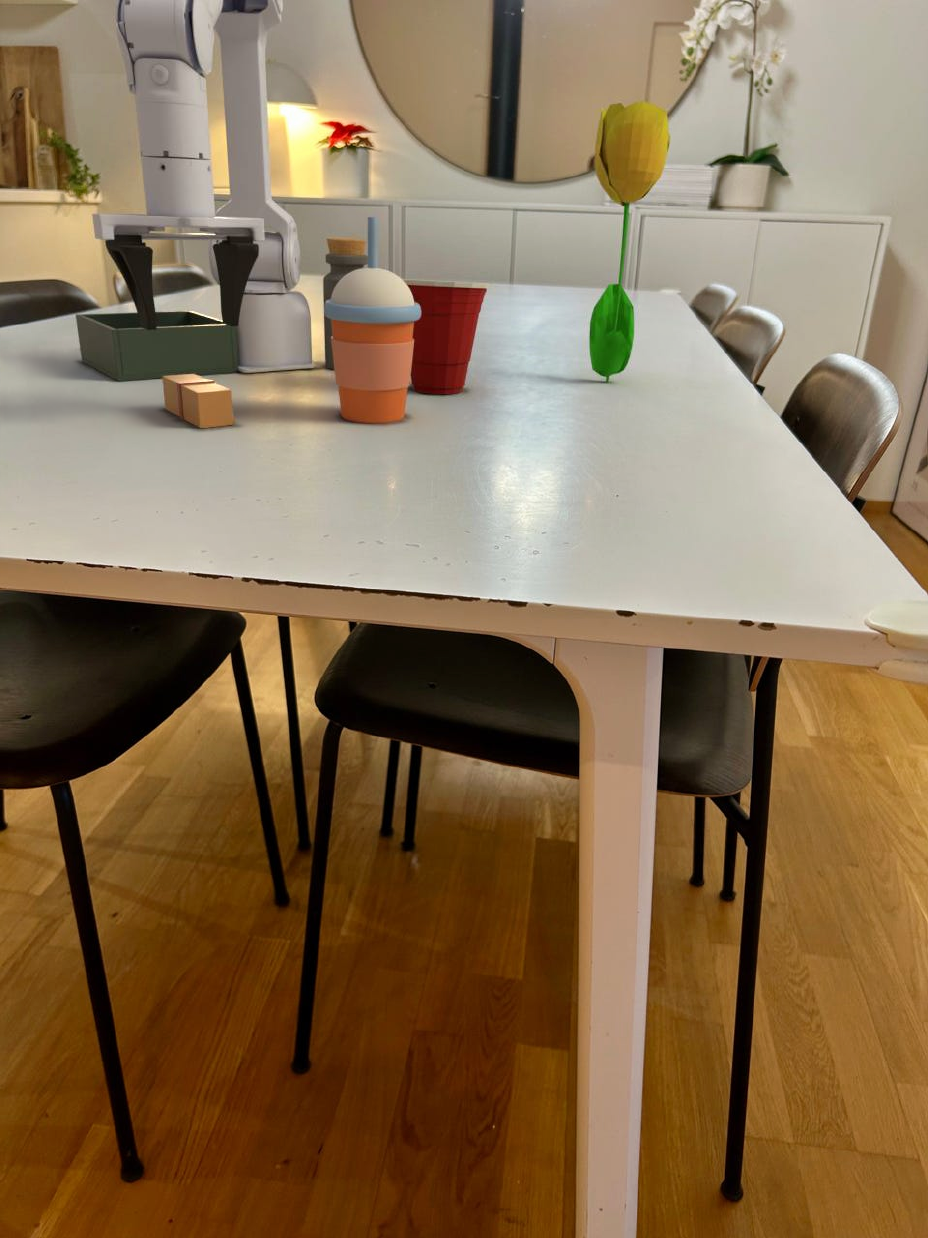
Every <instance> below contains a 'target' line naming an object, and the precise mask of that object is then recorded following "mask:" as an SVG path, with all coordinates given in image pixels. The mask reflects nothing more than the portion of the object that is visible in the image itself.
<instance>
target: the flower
mask: <svg viewBox="0 0 928 1238" xmlns="http://www.w3.org/2000/svg"><path fill="white" fill-rule="evenodd" d="M598 122H599V123H598V127H597V131H596V138H595V146H594V169H595V174H596V178H597V179H598V181H599V184H600V185H601V187H602V189H603V191H604V192H605V193H606V195H607V196H608V197H609V198H610V200H611V201H613V202H614V203H616V204H618V205H620V206H621V207H623V218H622V219H623V221H622V235H621V249H620V251H621V252H620V263H619V273H618V274H619V275H618V283H614V284H613V283H609V284H608V285H607V286H606V288H605V290H604V291H603V293H602V294H601V296H600V297H599V298H598V300H597V302H596V304H595V305H594V307H593V310H592V312H591V317H590V321H589V335H588V337H589V338H588V339H589V341H588V344H589V357H590V363H591V370H592V371H593V372H595V373H596V374H597V375H599V376H600V377H605V383H606V384H607V383H608V384H609V382H610V377H611V376H613V375H617V374H620V373H622V372H623V371H625V369H626V367H627V366H628V363H629V361H630V358H631V355H632V350H633V346H634V339H635V311H634V305H633V304H632V301H631V300H630V298H629V296H628V294H627V292H626V290H625V289H624V288H623V286H622V281H623V273H624V264H625V263H624V262H625V254H626V245H627V237H628V235H627V234H628V225H629V222H628V221H629V214H630V213H629V211H630V203H631V204H632V203H636V202H638V201H640V200H641V199H644V198H645V197H646V196H647V195H648V193H649V192H650V191H651V190H652V188H653V187H654V186H655V185H656V184H657V182H658V181H659V179H660V178H661V177H662V175H663V171H664V169H665V166H666V161H667V157H668V151H669V148H670V143H671V135H670V133H669V118H668V113H667V110H665V109H663V108H662V107H660V106H658V105H656V104H653V103H651V102H647V101H645V100H642V101H641V100H640V101H636V102H633V103H631V104H629V105H627V106H624V105H623V104H622V102H618V103H611V104H609V106H608V108H607V109H605V108H604V107H602V108H601V112H600V116H599V121H598Z"/></svg>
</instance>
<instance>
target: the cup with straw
mask: <svg viewBox="0 0 928 1238" xmlns="http://www.w3.org/2000/svg"><path fill="white" fill-rule="evenodd" d="M367 256H368V264H367V267H363V268H361V269H357V270H354V271H352V272H350V273H348V274H347V275H345V276H344V277H343V278H342V279H341V280H340V281H339V282H338V284H337V285H336V287H335V288H334V290H333V293H332V297H331V299H330V300H327V301H326V302H325V304H324V303H323V315H324V314H325V316H326V317H328V318H330V319H331V323H332V333H333V336H332V337H331V342H332V351H333V360H334V369H333V370H334V377H335V384H336V385H337V387H338V397H339V407H340V413H341V417H342V418H343V419H345V420H346V421H350V422H355V423H361V424H391V423H397V422H399V421H402V420H403V419H404V418H405V413H406V404H407V395H408V394H407V393H408V388H409V386H410V383H411V366H412V357H413V347H414V339H413V338H412V337H413V327H414V321H417V320H419V319H420V317H421V307H420V305H419V304H418V303H416V302H414V299H413V296H412V293H411V291H410V289H409V287H408V286H407V285H406V283H405V282H404V281H403V280H404V279H403V278H401V277H400V276H399V275H397V274H396V273H394V272H392V271H390V270H388V269H384V268H380V267H378V217H377V216H367Z"/></svg>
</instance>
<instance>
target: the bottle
mask: <svg viewBox="0 0 928 1238" xmlns="http://www.w3.org/2000/svg"><path fill="white" fill-rule="evenodd" d="M326 242H327V243H326V244H327V248H328V252H329V253H326V254H325V256H324V257H325V259H324V260H325V263H326V264H329V266H330V270H329V271H330V272H328V273H327V274H325V275H324V277H323V278H322V288H323V290H322V293H323V294H322V295H323V297H322V298H323V300H322V301H323V305H324V304H325V302H326V301H327V300H330V299H331V297H332V293H333V290H334V288H335V287H336V285H337V284H338V282H339V281H340V280H341V279H342V278H343V277H344V276H345V275H347V274H348V273H350V272H352V271H354V270H357V269H361V268H365V267H364V266H366V265H368V254H367V255H366V254H365V251H366V250H365V249H366V244H367V239H365V238H357V237H327V238H326ZM323 334H324V336H323V337H324V338H323V339H324V362H325V363H324V364H325V368H327V369H329V370H334V360H333V351H332V342H331V337H332V336H333V333H332V323H331V319H330V318H328V317H326V316H325V314H324V313H323Z"/></svg>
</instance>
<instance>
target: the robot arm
mask: <svg viewBox="0 0 928 1238" xmlns="http://www.w3.org/2000/svg"><path fill="white" fill-rule="evenodd" d="M283 1H284V0H117V2H116V7H115V28H116V29H115V30H116V36H117V40H118V46H119V49H120V53H121V55H122V59H123V63H124V67H125V74H126V83H127V85H128V90H129V93H130V94H133V95H134V101H135V110H136V111H135V112H136V121H137V130H138V140H139V151H140V161H141V171H142V179H143V180H142V181H143V191H144V201H145V211H146V212H145V213H146V214H137V213H135V214H134V213H133V214H130V213H92V215H91V216H92V224H93V231H94V232H93V233H94V238H95V239H96V240H102V241H104V242H105V247H106V250H107V253H108V254H109V256H110V257H111V259H112V260H113V262H114V264H115V265H116V267H117V269H118V272H119V273H120V275H121V276H122V278H123V281H124V282H125V284H126V287H127V289H128V291H129V293H130V296H131V298H132V301H133V304H134V306H135V309H136V312H137V313H138V316H139V320H140V323H141V327H142V328H145V329H147V330H156V312H157V311H156V307H155V298H154V291H153V258H154V257H153V255H154V250H153V249H152V247H151V246H147V243H146V242H143V240H145V241H146V240H147V241H148V240H151V241H152V240H154V241H155V240H157V241H158V240H161V241H162V240H163V241H169V240H170V241H208V263H209V270H210V273H211V276H212V278H213V281H215V282H216V284H217V285H218V286H219V294H220V297H219V298H220V314H221V320H223V324H226V325H229V326H236V340H237V355H238V371H239V372H241V373H243V374H252V373H264V372H267V373H268V372H278V371H279V372H280V371H293V370H305V369H307V370H308V369H315V368H316V364H315V363H313V344H312V343H313V341H312V338H313V337H312V314H311V310H310V305H309V302H308V299H307V297H306V296H305V295H304V294H303V293H302V292H300V291H297V290H292V289H295V288H296V286H297V285H298V284H299V282H300V277H301V267H302V266H301V263H302V261H301V248H300V242H299V239H298V225H297V224H296V221H295V219H294V217H292V215H291V214H290V213H288V212H287V210H285V209H283V207H281V206H280V205H279V204H277V203H276V202H275V200H273V199H272V180H271V179H272V177H271V155H270V135H269V114H268V112H269V111H268V95H267V94H268V93H267V90H268V89H267V71H266V70H267V69H266V49H267V40H268V39H267V38H268V32H269V31H270V30H272V29H274V28H275V27H277V26H279V25H280V24H281V23H282V14H283V11H284V2H283ZM214 30H215V31H214ZM214 32H216V35H217V36H218V39H219V43H220V57H221V73H222V89H223V90H222V91H223V105H224V117H225V118H224V119H225V120H224V122H225V136H226V150H227V151H226V152H227V168H228V169H227V170H228V184H229V200H228V201H227V202H226V203H225V204H224V205H223V206H221V207H220V208H219V209H217V210H216V207H215V206H216V205H215V194H214V193H215V191H214V179H213V163H212V150H211V149H212V148H211V136H210V123H209V121H210V120H209V108H208V93H207V81H206V76H205V75H209V74H210V73H211V72H212V68H213V59H214V58H213V57H214V44H215V33H214ZM166 228H182V229H183V228H186V229H199V232H205V233H171V232H165V231H166ZM265 228H270V229H273V230H276V231H265Z"/></svg>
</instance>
